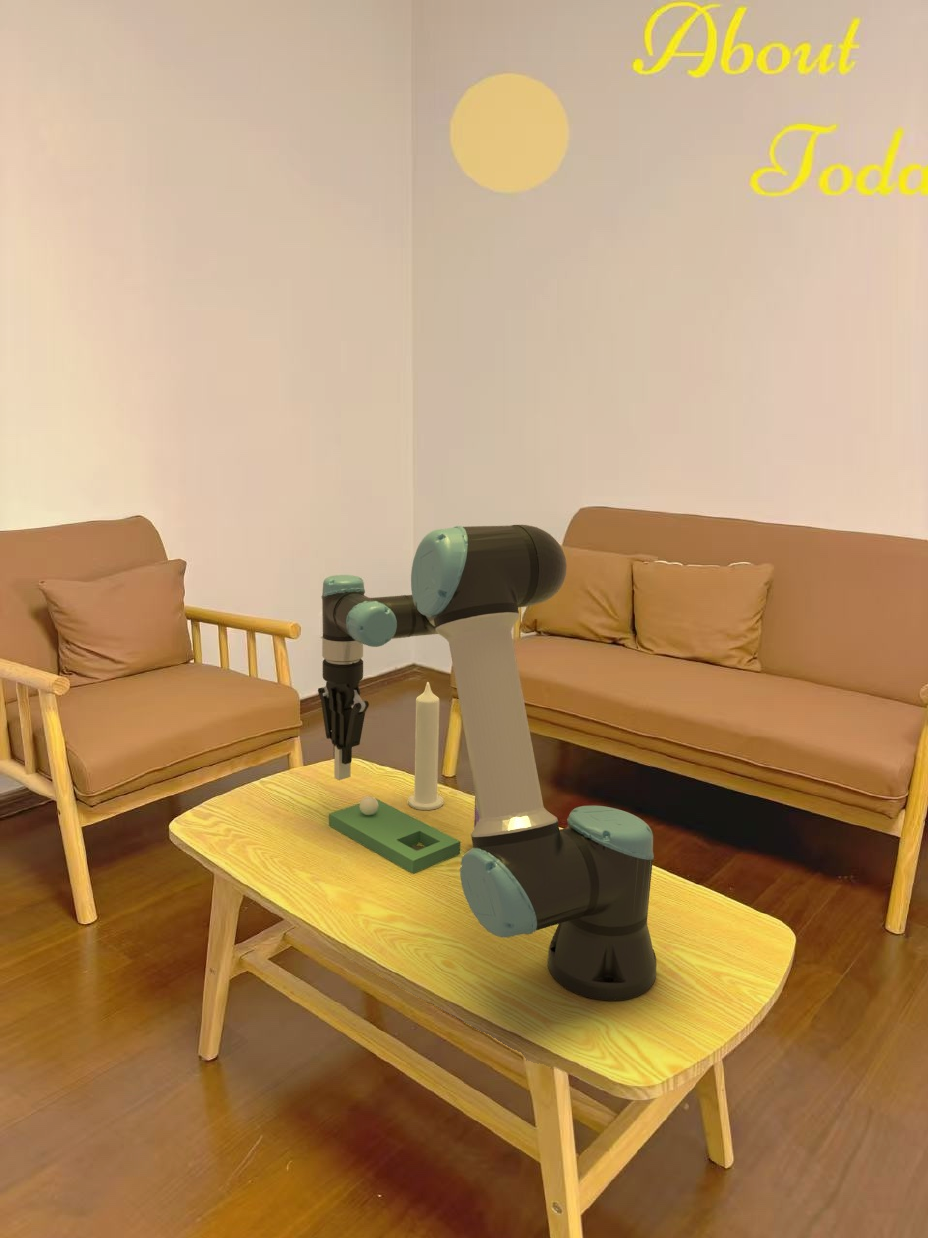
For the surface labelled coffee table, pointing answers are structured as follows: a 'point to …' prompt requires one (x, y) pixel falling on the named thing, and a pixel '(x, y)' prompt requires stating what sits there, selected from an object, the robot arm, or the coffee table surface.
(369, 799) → the ball
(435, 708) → the candle
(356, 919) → the coffee table surface
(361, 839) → the green hole board
